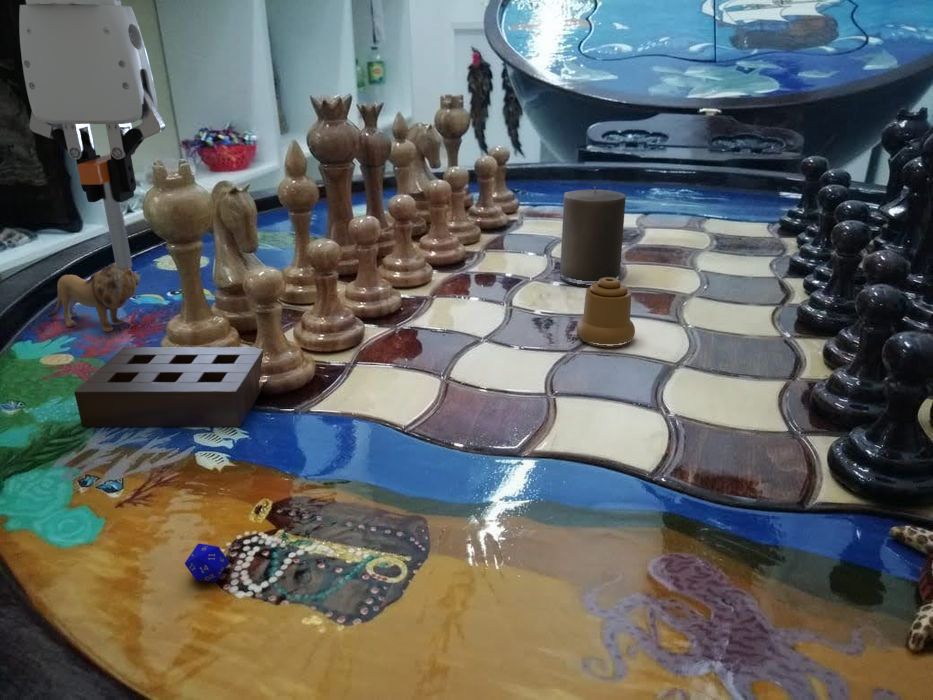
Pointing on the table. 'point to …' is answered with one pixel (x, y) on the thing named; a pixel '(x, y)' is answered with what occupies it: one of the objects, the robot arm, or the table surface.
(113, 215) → the t handle
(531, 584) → the table surface
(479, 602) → the table surface
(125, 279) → the lion figurine
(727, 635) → the table surface
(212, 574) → the die
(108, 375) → the tool rack
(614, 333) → the ornamental finial
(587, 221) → the pillar candle
